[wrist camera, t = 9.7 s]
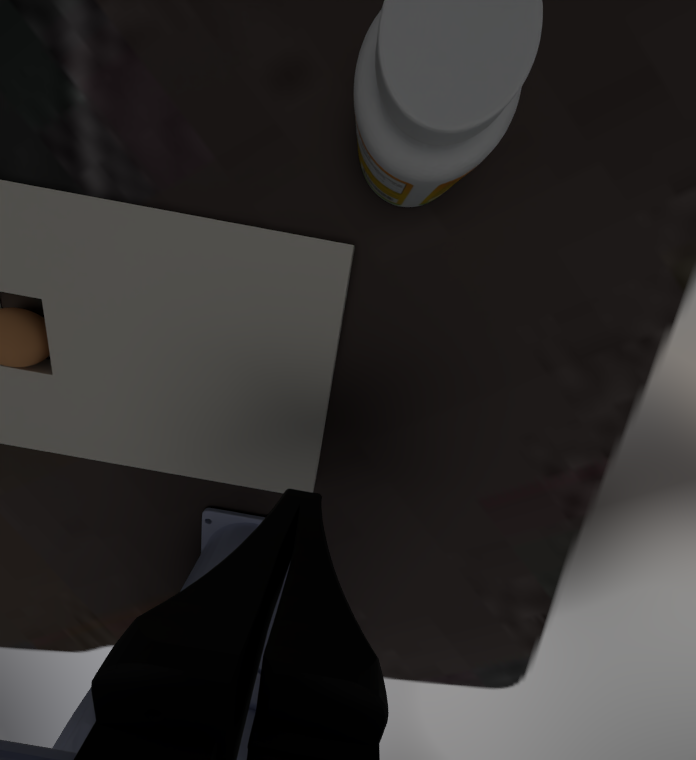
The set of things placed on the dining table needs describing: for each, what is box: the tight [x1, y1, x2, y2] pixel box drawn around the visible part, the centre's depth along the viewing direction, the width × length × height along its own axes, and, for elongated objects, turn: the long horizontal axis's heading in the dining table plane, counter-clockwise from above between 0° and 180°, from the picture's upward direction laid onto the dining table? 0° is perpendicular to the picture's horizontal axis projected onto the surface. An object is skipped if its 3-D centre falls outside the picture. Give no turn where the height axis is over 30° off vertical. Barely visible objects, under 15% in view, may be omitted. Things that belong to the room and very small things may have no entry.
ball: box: [0, 308, 50, 367], centre depth 20 cm, size 4×4×4 cm
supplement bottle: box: [354, 0, 543, 207], centre depth 13 cm, size 5×5×10 cm
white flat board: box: [0, 180, 355, 493], centre depth 21 cm, size 26×16×2 cm, turn 80°
